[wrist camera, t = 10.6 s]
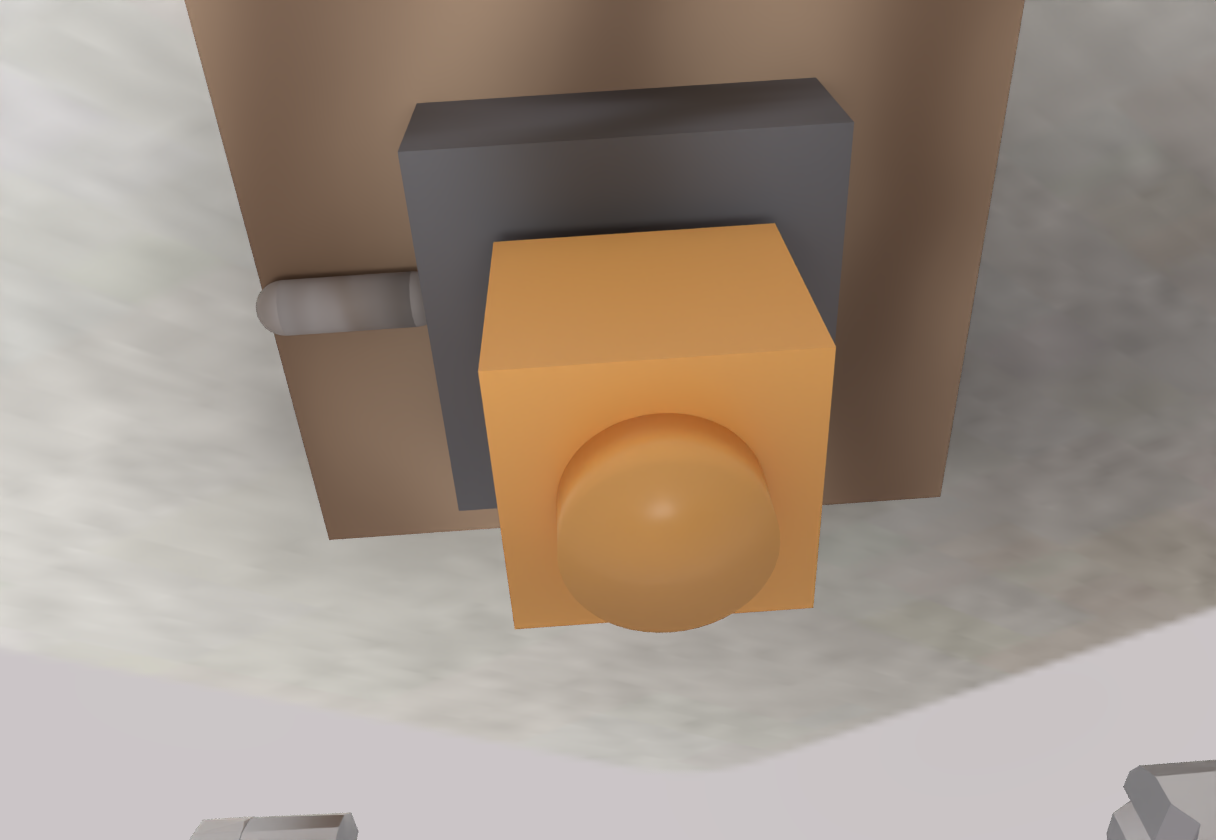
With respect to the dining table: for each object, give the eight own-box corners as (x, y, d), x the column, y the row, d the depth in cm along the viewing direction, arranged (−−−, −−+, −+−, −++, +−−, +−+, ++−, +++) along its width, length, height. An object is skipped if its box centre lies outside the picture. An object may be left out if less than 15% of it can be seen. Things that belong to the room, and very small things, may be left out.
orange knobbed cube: (774, 222, 18) (858, 392, 13) (764, 452, 20) (830, 661, 16) (493, 241, 18) (472, 418, 13) (521, 469, 20) (512, 684, 16)
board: (1001, -114, 20) (1298, -36, 12) (916, 452, 28) (1063, 728, 20) (203, -65, 20) (-30, 48, 12) (342, 492, 27) (258, 787, 20)
